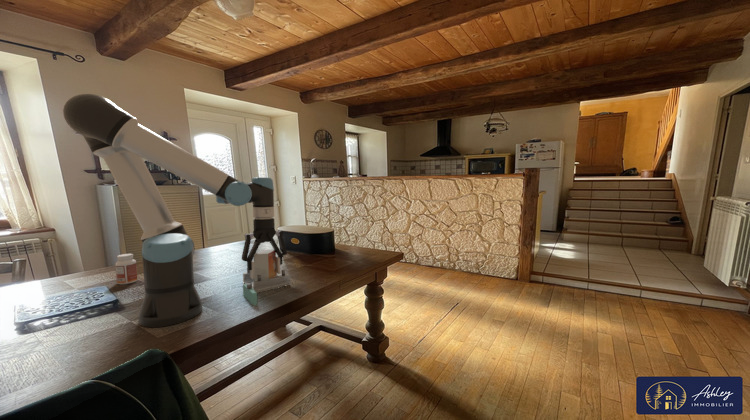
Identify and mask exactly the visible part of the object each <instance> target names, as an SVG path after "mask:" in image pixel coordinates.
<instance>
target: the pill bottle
mask: <svg viewBox="0 0 750 420" xmlns="http://www.w3.org/2000/svg"><path fill="white" fill-rule="evenodd" d="M116 258H117V261H116V262H115V276H116V277H115V278H116V283H117V285H120V286H121V285H128V284H133V283H136V282H137V281H138V268H137V260H136V259H134V254H133V253H122V254H119V255H117V257H116Z"/></svg>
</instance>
